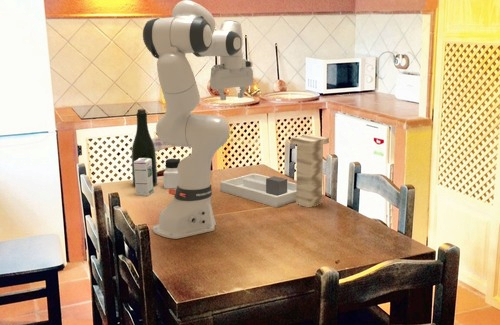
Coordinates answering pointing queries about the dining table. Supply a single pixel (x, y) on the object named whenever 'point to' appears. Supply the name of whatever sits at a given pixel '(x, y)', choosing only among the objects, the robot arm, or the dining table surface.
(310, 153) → the ribbed beige tower
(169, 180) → the medicine bottle
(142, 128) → the wine bottle
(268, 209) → the dining table surface
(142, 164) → the syrup box
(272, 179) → the grey mallet
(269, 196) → the tray
